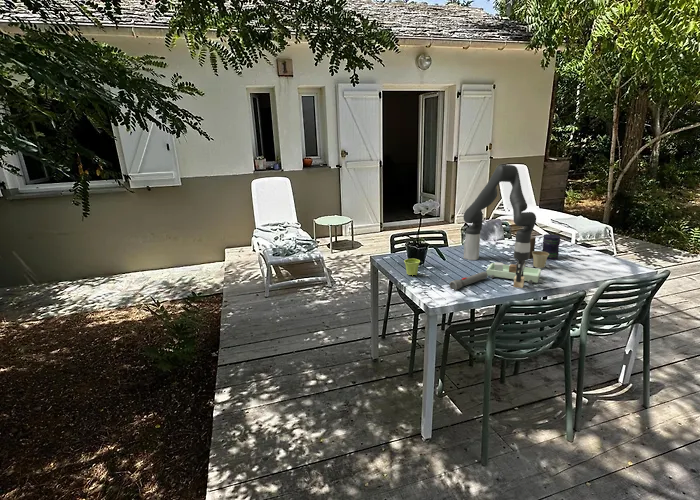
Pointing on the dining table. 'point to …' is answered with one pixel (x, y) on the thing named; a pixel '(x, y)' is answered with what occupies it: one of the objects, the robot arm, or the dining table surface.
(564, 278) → the dining table surface
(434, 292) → the dining table surface
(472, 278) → the flashlight
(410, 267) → the plant pot
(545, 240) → the storage jar
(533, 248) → the pillar candle
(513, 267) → the walnut part
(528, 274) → the cart
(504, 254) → the dining table surface
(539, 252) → the flower pot
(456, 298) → the dining table surface
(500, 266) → the grey part
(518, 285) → the beech part
